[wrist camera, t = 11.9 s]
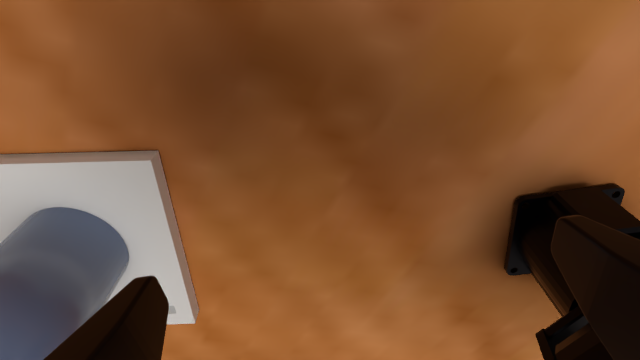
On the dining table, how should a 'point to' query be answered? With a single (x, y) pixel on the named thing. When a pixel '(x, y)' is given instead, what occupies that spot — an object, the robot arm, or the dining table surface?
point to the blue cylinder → (55, 279)
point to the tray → (107, 210)
